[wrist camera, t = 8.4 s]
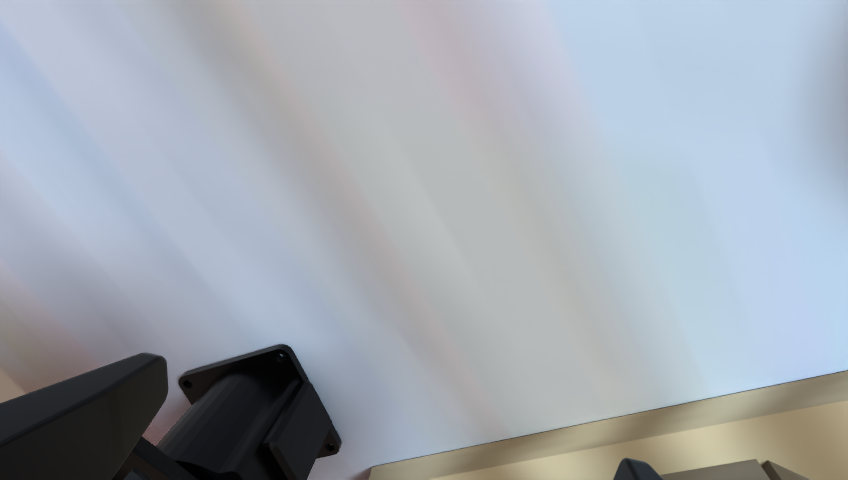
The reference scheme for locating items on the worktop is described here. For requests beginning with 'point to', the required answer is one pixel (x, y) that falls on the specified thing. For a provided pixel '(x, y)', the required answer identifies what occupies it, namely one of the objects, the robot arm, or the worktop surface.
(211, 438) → the robot arm
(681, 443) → the dial base
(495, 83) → the worktop surface
